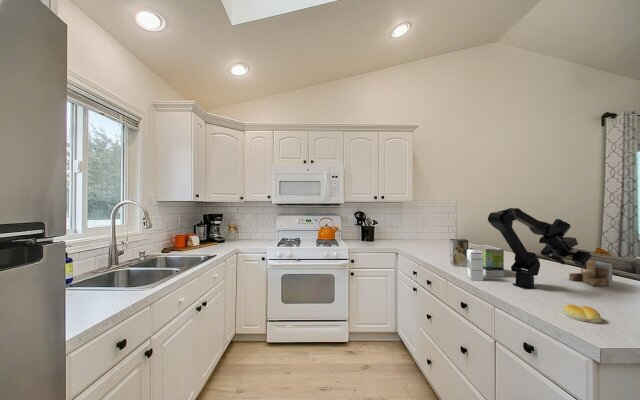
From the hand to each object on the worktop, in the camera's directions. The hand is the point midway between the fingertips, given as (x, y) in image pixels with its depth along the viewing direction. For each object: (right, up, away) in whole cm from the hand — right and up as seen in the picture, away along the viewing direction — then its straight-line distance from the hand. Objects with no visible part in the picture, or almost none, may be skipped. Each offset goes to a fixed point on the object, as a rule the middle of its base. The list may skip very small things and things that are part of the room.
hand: (574, 266), depth 122 cm
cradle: (+7, -8, +1) cm, 11 cm away
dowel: (+8, -8, +1) cm, 12 cm away
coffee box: (-36, -9, +36) cm, 52 cm away
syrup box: (-44, -9, +7) cm, 45 cm away
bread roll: (-34, -8, -36) cm, 50 cm away
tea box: (-31, -9, +18) cm, 37 cm away
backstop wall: (+13, -8, +2) cm, 15 cm away
